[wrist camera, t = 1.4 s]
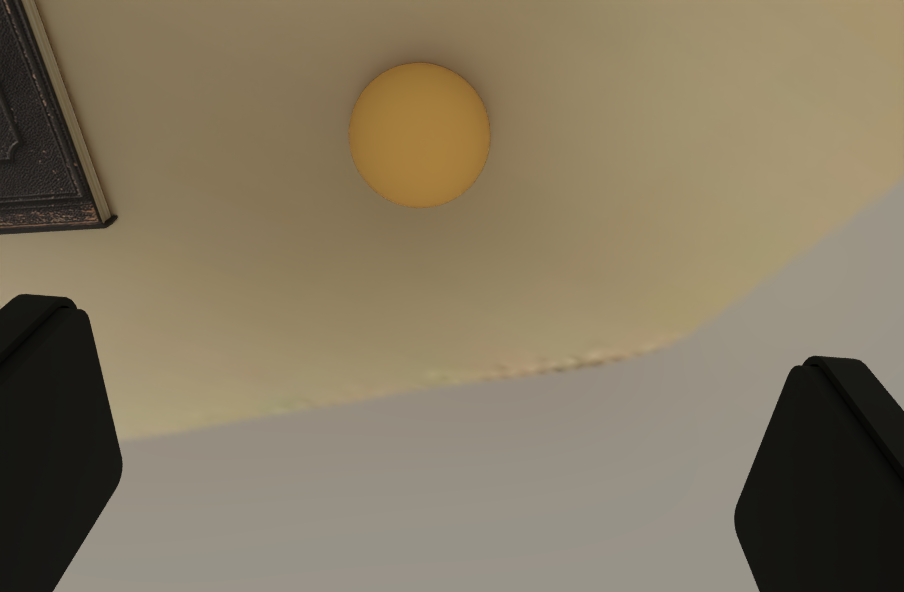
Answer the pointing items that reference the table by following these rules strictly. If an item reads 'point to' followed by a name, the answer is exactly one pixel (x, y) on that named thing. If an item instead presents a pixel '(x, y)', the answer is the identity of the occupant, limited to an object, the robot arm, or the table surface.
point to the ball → (419, 135)
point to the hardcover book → (40, 136)
